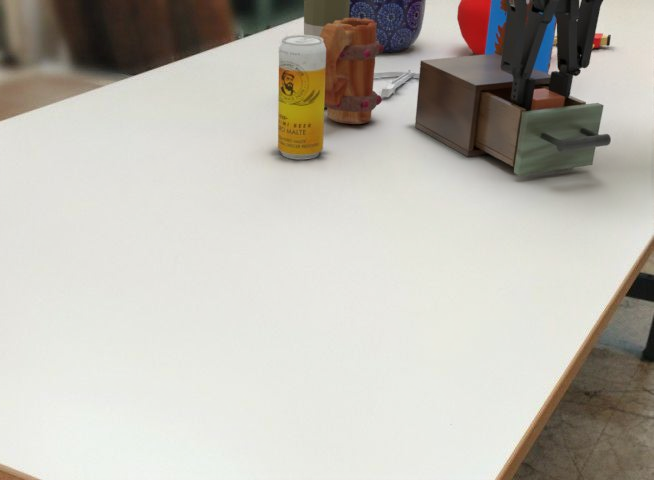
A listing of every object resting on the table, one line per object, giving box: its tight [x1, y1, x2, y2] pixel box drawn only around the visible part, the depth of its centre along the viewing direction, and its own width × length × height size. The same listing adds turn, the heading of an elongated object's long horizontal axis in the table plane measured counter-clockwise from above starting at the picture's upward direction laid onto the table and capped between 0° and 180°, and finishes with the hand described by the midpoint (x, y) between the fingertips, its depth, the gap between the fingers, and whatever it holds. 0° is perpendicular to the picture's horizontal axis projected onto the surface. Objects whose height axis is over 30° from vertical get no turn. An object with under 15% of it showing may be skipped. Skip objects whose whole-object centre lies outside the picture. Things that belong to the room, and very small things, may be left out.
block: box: [531, 88, 565, 111], centre depth 121 cm, size 4×4×4 cm
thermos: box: [485, 0, 557, 74], centre depth 152 cm, size 11×11×25 cm
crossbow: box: [374, 69, 420, 98], centre depth 157 cm, size 16×13×2 cm
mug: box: [320, 18, 384, 125], centre depth 135 cm, size 15×8×15 cm, turn 149°
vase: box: [456, 0, 491, 55], centre depth 173 cm, size 18×18×19 cm
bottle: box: [303, 0, 350, 109], centre depth 140 cm, size 7×7×30 cm
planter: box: [349, 0, 427, 54], centre depth 179 cm, size 17×17×15 cm
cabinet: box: [414, 53, 551, 158], centre depth 132 cm, size 15×13×10 cm
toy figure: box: [553, 32, 612, 50], centre depth 185 cm, size 2×7×12 cm
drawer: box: [474, 84, 612, 176], centre depth 121 cm, size 18×11×8 cm, turn 22°
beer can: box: [277, 34, 326, 161], centre depth 123 cm, size 6×6×15 cm
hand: (535, 125), depth 121 cm, fingers closed on block, 4 cm apart
